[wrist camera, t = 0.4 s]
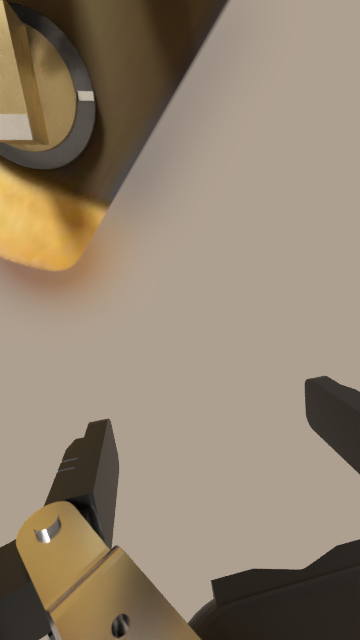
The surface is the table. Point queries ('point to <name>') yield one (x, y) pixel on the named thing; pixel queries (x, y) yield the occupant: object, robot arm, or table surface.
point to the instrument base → (85, 99)
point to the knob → (33, 88)
